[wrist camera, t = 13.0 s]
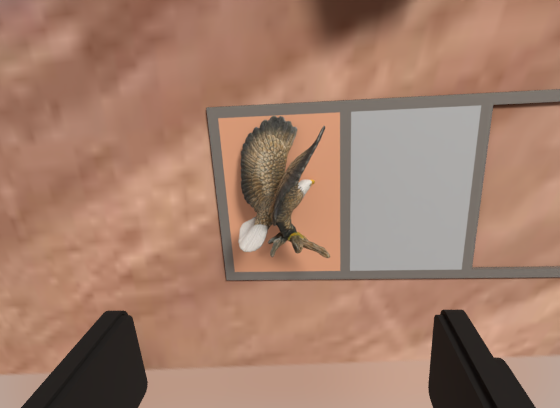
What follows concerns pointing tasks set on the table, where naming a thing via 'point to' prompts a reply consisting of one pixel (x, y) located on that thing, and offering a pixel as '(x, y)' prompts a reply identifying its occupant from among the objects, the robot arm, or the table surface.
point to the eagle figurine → (274, 186)
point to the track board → (371, 187)
